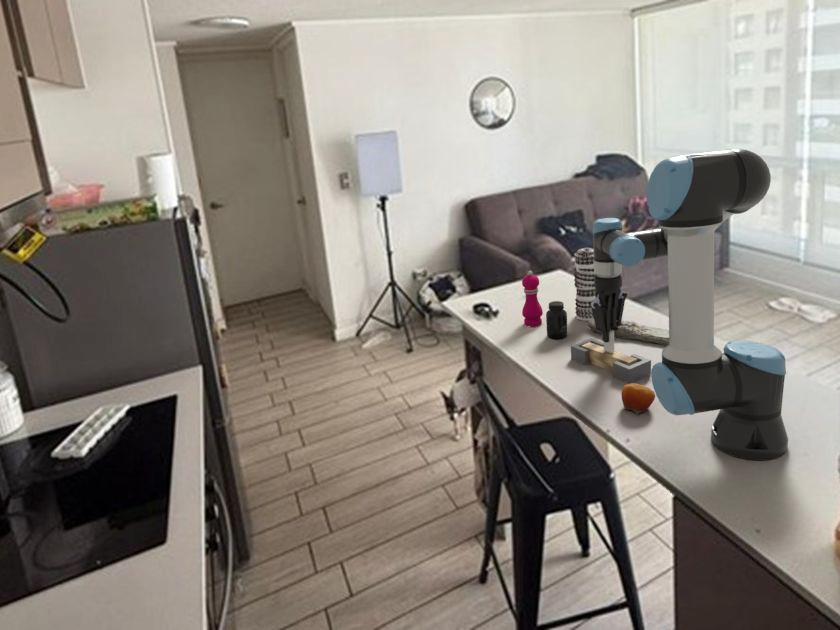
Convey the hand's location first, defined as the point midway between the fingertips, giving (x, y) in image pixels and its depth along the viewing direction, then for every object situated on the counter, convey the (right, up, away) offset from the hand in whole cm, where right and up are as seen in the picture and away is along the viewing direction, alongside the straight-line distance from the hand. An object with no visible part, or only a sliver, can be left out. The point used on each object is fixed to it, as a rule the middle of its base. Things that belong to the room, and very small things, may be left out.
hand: (609, 350), depth 178 cm
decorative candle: (+5, +10, +41) cm, 43 cm away
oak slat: (+1, -5, +2) cm, 5 cm away
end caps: (+1, -5, +2) cm, 5 cm away
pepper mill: (-15, +7, +41) cm, 44 cm away
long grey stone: (+16, +3, +20) cm, 26 cm away
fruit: (0, -14, -22) cm, 26 cm away
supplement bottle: (-9, +3, +27) cm, 29 cm away
